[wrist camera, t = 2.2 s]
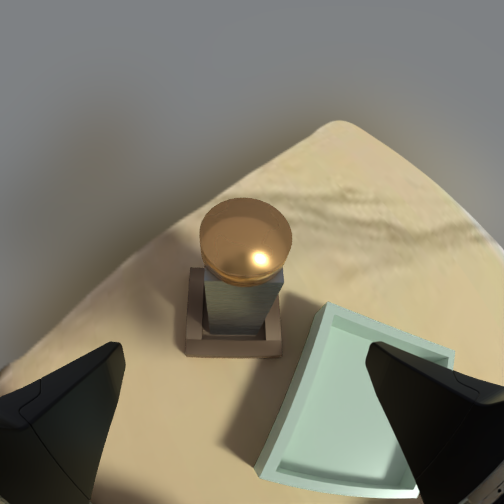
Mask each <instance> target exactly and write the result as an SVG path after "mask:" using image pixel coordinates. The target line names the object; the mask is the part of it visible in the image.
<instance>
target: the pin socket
mask: <svg viewBox="0 0 504 504" xmlns="http://www.w3.org/2000/svg"><path fill="white" fill-rule="evenodd" d="M204 273H205V268H190V279H189V293H188V308H187V326H186V348H185V355H186V356H187V357H201V358H279V357H281V356H282V340H281V324H280V309H279V295H277V297H276V299H275V301H274V303H273V305H272V307H271V309H270V311H269V313H268V314H267V316H266V318H265V320H264V322H263V324H262V326H261V328H260V330H259V331H258V333H257V335H210V328H209V320H208V312H207V303H206V294H205V285H204Z"/></svg>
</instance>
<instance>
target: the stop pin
mask: <svg viewBox="0 0 504 504" xmlns="http://www.w3.org/2000/svg"><path fill="white" fill-rule="evenodd" d="M291 245H292V233H291V229H290V226H289V224H288V222H287V220H286V219H285V217H284V216H283V215H282V214H281V213H280V212H279V211H278V210H277V209H276V208H274V207H273V206H271V205H269V204H268V203H265V202H263V201H260V200H257V199H252V198H234V199H229V200H226V201H224V202H221V203H219V204H218V205H216V206H214V207H213V208H212V209H211V210H210V211H209V212H208V213H207V214H206V215H205V217H204V219H203V221H202V223H201V226H200V248H201V256H202V259H203V262H204V264H205V273H204V285H205V294H206V303H207V312H208V320H209V328H210V335H257V333H258V331H259V330H260V328H261V326H262V324H263V322H264V320H265V318H266V316H267V314H268V313H269V311H270V309H271V307H272V305H273V303H274V301H275V299H276V297H277V295H278V293H279V291H280V290H281V288H282V286H283V284H284V276H283V265H284V263H285V261H286V258H287V256H288V254H289V251H290V249H291Z"/></svg>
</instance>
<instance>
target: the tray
mask: <svg viewBox="0 0 504 504" xmlns="http://www.w3.org/2000/svg"><path fill="white" fill-rule="evenodd" d="M377 341H382V342H385V343H387V344H389V345H392V346H394V347H397V348H399V349H401V350H404V351H406V352H409V353H411V354H414V355H416V356H418V357H421V358H423V359H426V360H428V361H431V362H433V363H436V364H438V365H441V366H443V367H446V368H449V369H451V370H452V371H453V365H454V357H455V351H454V350H451V349H449V348H446V347H443V346H441V345H438V344H435V343H433V342H430V341H428V340H425V339H422V338H420V337H417V336H414V335H412V334H409V333H407V332H404V331H401V330H399V329H396V328H394V327H391V326H389V325H386V324H383V323H381V322H378V321H376V320H373V319H371V318H368V317H366V316H363V315H361V314H358V313H356V312H353V311H350V310H348V309H345V308H343V307H340V306H338V305H335V304H333V303H331V302H327V303H326V304H325V305H324V306H323V307H322V308H321V309H320V310H319V311H318V312H317V313H316V314H315V316H314V320H313V323H312V326H311V328H310V331H309V334H308V337H307V340H306V343H305V346H304V349H303V351H302V354H301V357H300V360H299V362H298V365H297V368H296V370H295V373H294V376H293V378H292V381H291V383H290V386H289V389H288V391H287V394H286V396H285V399H284V401H283V403H282V406H281V408H280V411H279V413H278V415H277V418H276V420H275V422H274V425H273V427H272V429H271V432H270V434H269V436H268V438H267V441H266V443H265V445H264V447H263V449H262V451H261V453H260V456H259V458H258V460H257V462H256V464H255V466H254V470H255V472H256V473H257V475H258V477H259V478H261V479H264V480H268V481H272V482H275V483H279V484H283V485H288V486H292V487H297V488H301V489H306V490H312V491H317V492H323V493H330V494H337V495H346V496H356V497H369V498H417V496H418V494H419V490H418V487H417V485H416V483H415V480H414V477H413V475H412V473H411V470H410V468H409V466H408V463H407V461H406V459H405V456H404V454H403V452H402V450H401V447H400V445H399V443H398V441H397V439H396V436H395V434H394V432H393V430H392V428H391V426H390V423H389V421H388V419H387V417H386V415H385V413H384V411H383V409H382V407H381V404H380V402H379V400H378V398H377V396H376V393H375V391H374V388H373V385H372V382H371V379H370V376H369V374H368V371H367V368H366V365H365V360H366V356H367V353H368V350H369V346H370V344H371V343H372V342H377Z"/></svg>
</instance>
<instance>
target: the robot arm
mask: <svg viewBox="0 0 504 504" xmlns="http://www.w3.org/2000/svg"><path fill="white" fill-rule="evenodd" d="M125 365H126V364H125V358H124V353H123V348H122V345H121V343H119V342H108V343H106V344H104V345H102V346H101V347H99V348H97V349H95V350H93V351H91V352H89V353H88V354H86V355H84V356H82V357H80V358H78V359H76V360H74V361H73V362H71V363H69V364H67V365H65V366H63V367H61V368H59V369H58V370H56V371H54V372H52V373H50V374H48V375H46V376H44V377H42V378H41V379H39V380H37V381H35V382H33V383H31V384H29V385H27V386H25V387H23V388H21V389H18V390H16V391H14V392H11V393H9V394H6V395H4V396H1V397H0V504H89V503H90V501H89V500H90V498H91V494H92V490H93V486H94V482H95V478H96V474H97V470H98V466H99V462H100V459H101V455H102V452H103V448H104V445H105V441H106V438H107V435H108V432H109V428H110V425H111V422H112V419H113V416H114V413H115V410H116V407H117V403H118V399H119V395H120V390H121V385H122V380H123V376H124V371H125ZM365 365H366V368H367V371H368V374H369V376H370V379H371V382H372V385H373V388H374V391H375V393H376V396H377V398H378V400H379V402H380V404H381V407H382V409H383V411H384V413H385V415H386V417H387V419H388V421H389V423H390V426H391V428H392V430H393V432H394V434H395V436H396V439H397V441H398V443H399V445H400V447H401V450H402V452H403V454H404V456H405V459H406V461H407V463H408V466H409V468H410V470H411V473H412V475H413V477H414V480H415V483H416V485H417V487H418V490H419V492H420V495H421V497H422V500H423V502H424V504H463V503H465V502H466V501H468V500H469V502H470V503H471V504H504V386H500V385H496V384H493V383H489V382H486V381H483V380H479V379H476V378H473V377H470V376H467V375H464V374H462V373H459V372H456V371H454V370H453V371H452V370H451V369H449V368H446V367H443V366H441V365H438V364H436V363H433V362H431V361H428V360H426V359H423V358H421V357H418V356H416V355H414V354H411V353H409V352H406V351H404V350H401V349H399V348H397V347H394V346H392V345H389V344H387V343H385V342H382V341H377V342H372V343H371V344H370V346H369V350H368V353H367V356H366V360H365Z"/></svg>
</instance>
